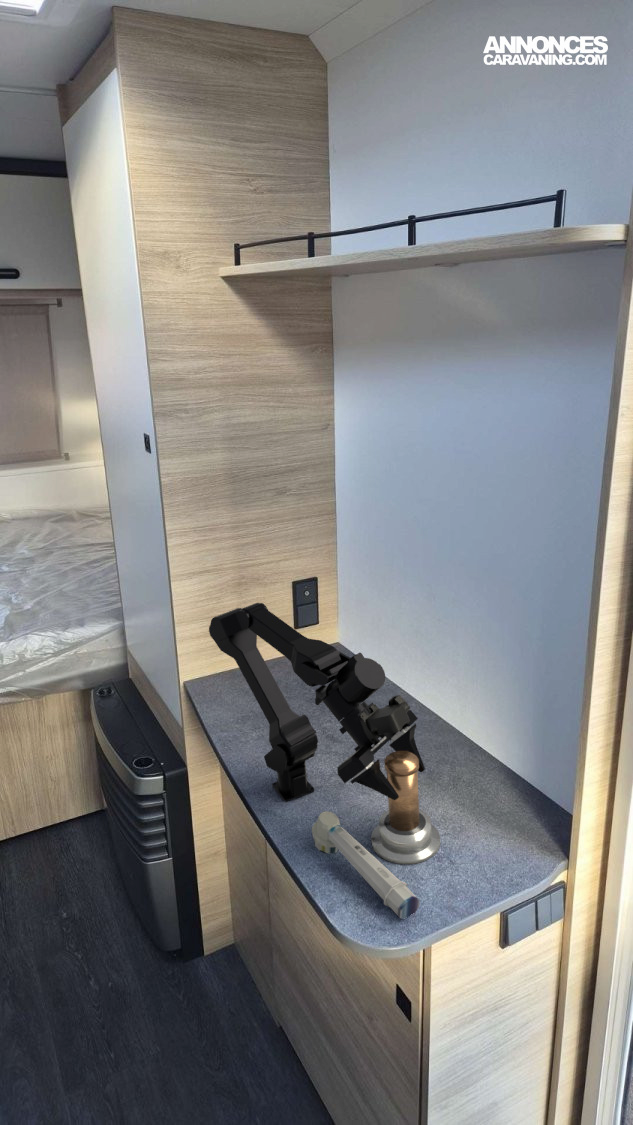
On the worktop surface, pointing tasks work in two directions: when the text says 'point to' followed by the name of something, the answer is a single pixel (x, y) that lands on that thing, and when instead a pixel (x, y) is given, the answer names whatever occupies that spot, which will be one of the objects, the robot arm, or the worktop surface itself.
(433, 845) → the ring
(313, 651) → the robot arm
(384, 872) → the grey piece
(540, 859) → the worktop surface
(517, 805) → the worktop surface
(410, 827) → the copper capped cylinder
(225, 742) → the worktop surface
